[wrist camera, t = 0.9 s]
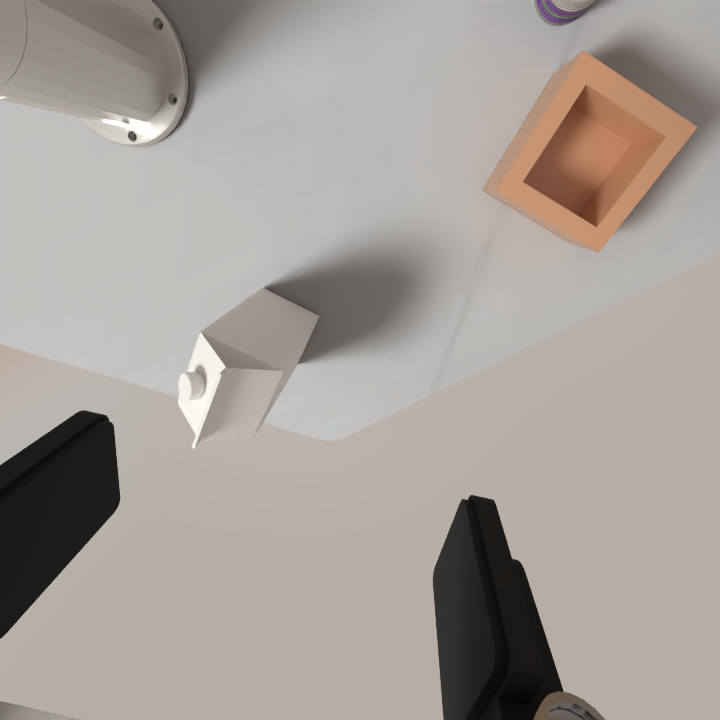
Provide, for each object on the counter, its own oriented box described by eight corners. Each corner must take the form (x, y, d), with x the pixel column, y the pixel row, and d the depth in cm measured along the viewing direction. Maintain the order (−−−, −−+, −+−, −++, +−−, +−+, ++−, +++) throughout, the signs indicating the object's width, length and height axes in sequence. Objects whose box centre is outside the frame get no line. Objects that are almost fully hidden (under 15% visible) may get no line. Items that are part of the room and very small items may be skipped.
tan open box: (482, 190, 37) (495, 190, 32) (553, 73, 33) (583, 50, 28) (570, 243, 39) (598, 252, 33) (650, 136, 34) (697, 127, 29)
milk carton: (320, 315, 44) (268, 396, 27) (297, 365, 47) (236, 467, 30) (262, 286, 44) (171, 350, 26) (242, 339, 46) (148, 428, 29)
